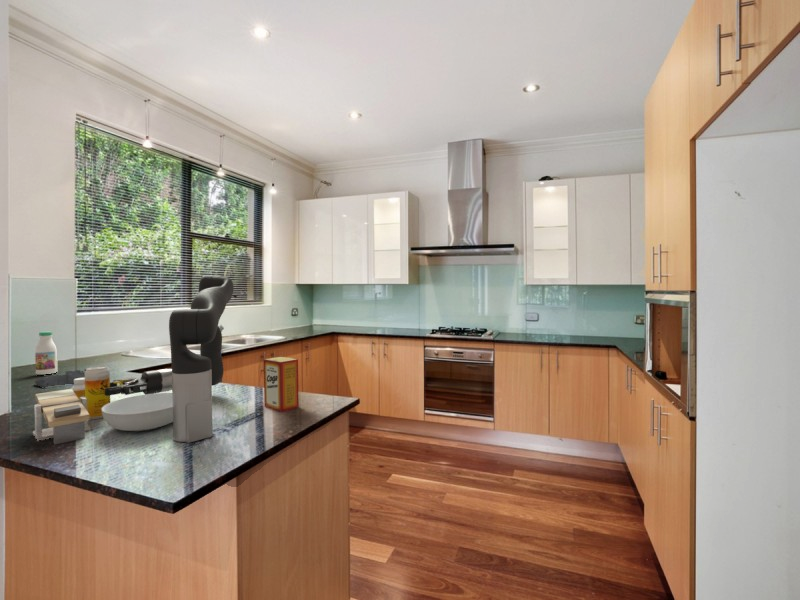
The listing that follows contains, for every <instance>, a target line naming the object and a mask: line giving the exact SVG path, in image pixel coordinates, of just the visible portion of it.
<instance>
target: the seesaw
mask: <svg viewBox="0 0 800 600" xmlns="http://www.w3.org/2000/svg"><path fill="white" fill-rule="evenodd" d="M34 398H35V401H36V403H37V404H40V405H41V415H42V416H43V418H44V420H45V422H46V424H47V426H48V428H52V427H56V426H61V425H66V424H71V423H77V422H82V421H87V422H88V421H90V419H89V413H88V412H87V410H86V409H85V407H84V406H83V405H82V403H81V402H80V400H79V399H78V397H77V396H76V394H75V393H74V391H73V390H72V389H71V388H68V389H61V390H60V389H59V390H55V391H54V390H53V391H47V392H42V393H41V392H40V393H35V397H34Z"/></svg>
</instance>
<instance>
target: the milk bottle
mask: <svg viewBox="0 0 800 600" xmlns="http://www.w3.org/2000/svg"><path fill="white" fill-rule="evenodd" d="M38 335H39V340H38V343H37V344H36V347H35V353H34V356H35V357H34V359H35V375H36V374H51V373H56V372H57V373H58V372H59V371H58V367H59V366H58V349H57V346H56V344H55V342H54V340H53V331H40V332H39V334H38ZM57 373H56V374H57Z"/></svg>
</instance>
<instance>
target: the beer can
mask: <svg viewBox="0 0 800 600" xmlns="http://www.w3.org/2000/svg"><path fill="white" fill-rule="evenodd" d="M110 370H111V369H109V367H108V366H105V365H103V366H99V365H98V366H92V367H91V366H90V367H88V368H86V371H85V370H84V372H85V397H86V398H87V412H88V413H89V420H98V419H104V418H103V416H102V411H101V409H102V407H103V406H105V405H106V404H108V403H111V395H109V396H106V395H105V389H106V388H110V382H111V377H110V376H111V375H110V374H111V373H110Z"/></svg>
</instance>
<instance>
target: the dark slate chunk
mask: <svg viewBox="0 0 800 600" xmlns="http://www.w3.org/2000/svg"><path fill="white" fill-rule="evenodd" d="M86 369H87V368H86ZM86 369H84V371H83V370H80V369H76V370H67V371H65V372H64V373H65V374H61V375H57V374H56V375H49V376H48V377H41V378H37V379H35V381H34V383H35V384H36V385H37V387H39V386H40V387H48V386H55V385H65V384H72V385H75V384H74V379H77V378H85V371H86ZM40 387H39V388H40Z"/></svg>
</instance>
